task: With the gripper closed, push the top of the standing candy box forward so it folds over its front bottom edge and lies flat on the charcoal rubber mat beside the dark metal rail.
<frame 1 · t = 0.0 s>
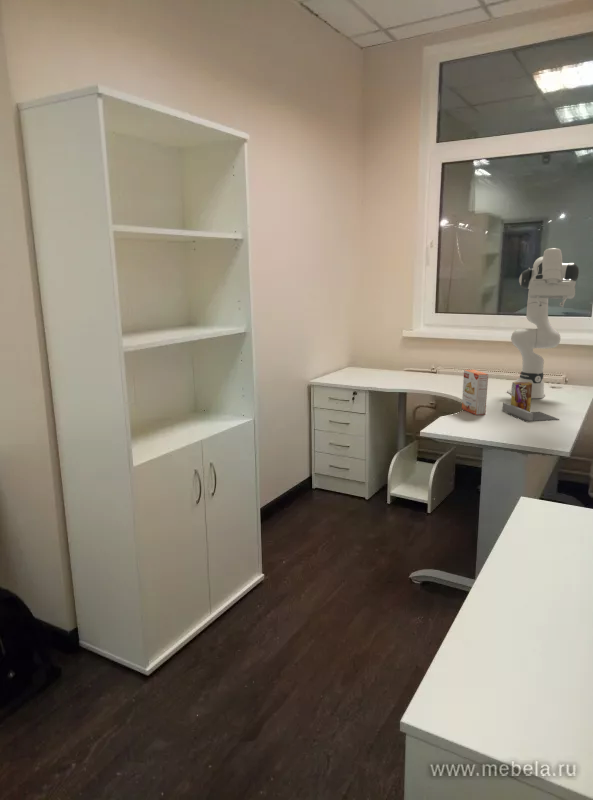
hand: (550, 306, 267), 54 cm above the table, tool tilted 30°, fingers open, 8 cm apart
mat with rail: (529, 415, 285), on the table
candy box: (519, 412, 292), resting on mat with rail
cracker box: (473, 412, 292), on the table
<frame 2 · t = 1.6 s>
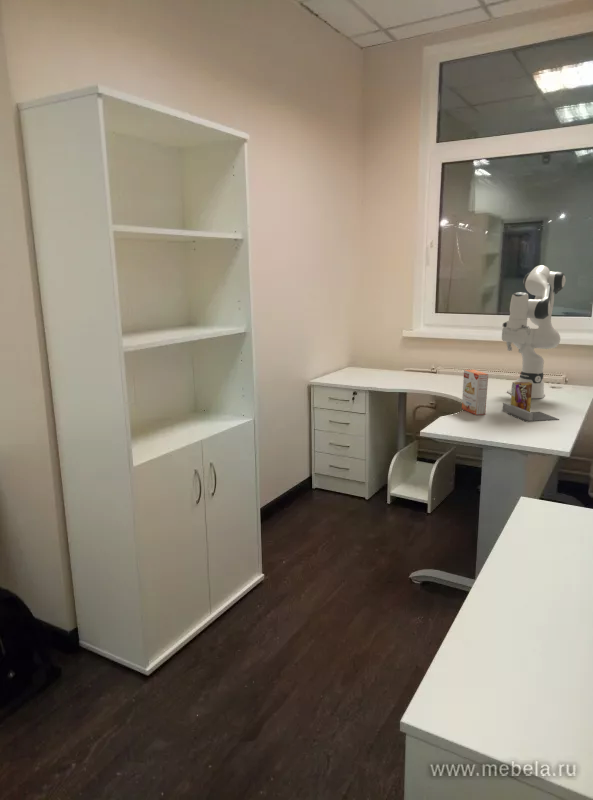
hand: (515, 351, 294), 30 cm above the table, tool pointing down, fingers open, 8 cm apart
nothing on the table moved.
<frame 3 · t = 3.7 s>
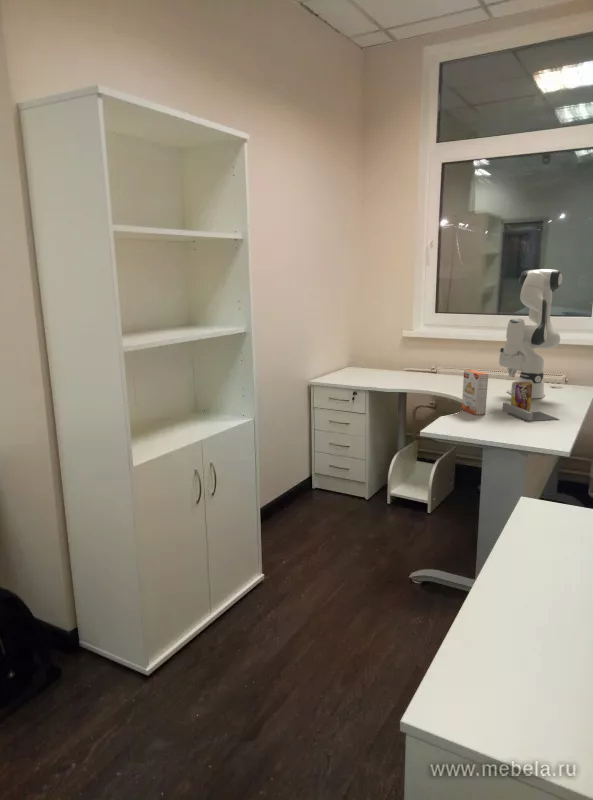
hand: (511, 376, 298), 16 cm above the table, tool pointing down, fingers closed
nothing on the table moved.
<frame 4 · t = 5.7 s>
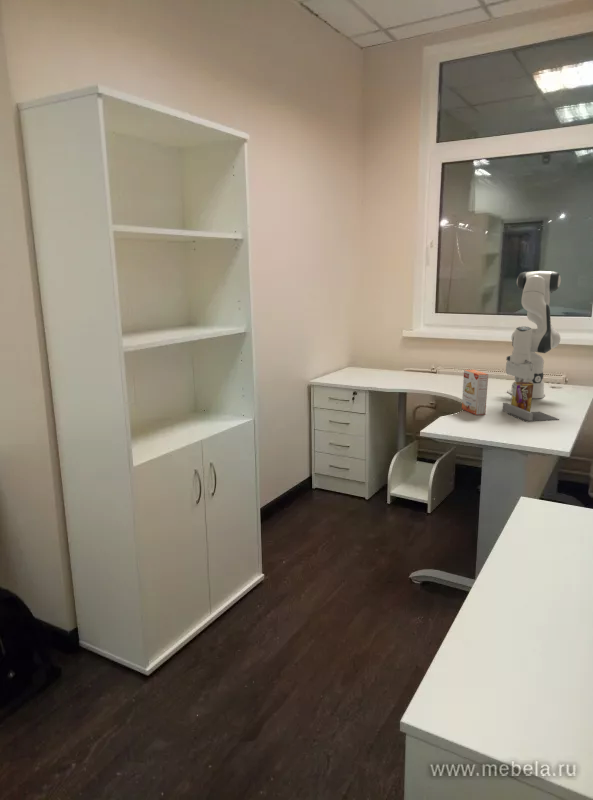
hand: (518, 385, 292), 13 cm above the table, tool pointing down, fingers closed
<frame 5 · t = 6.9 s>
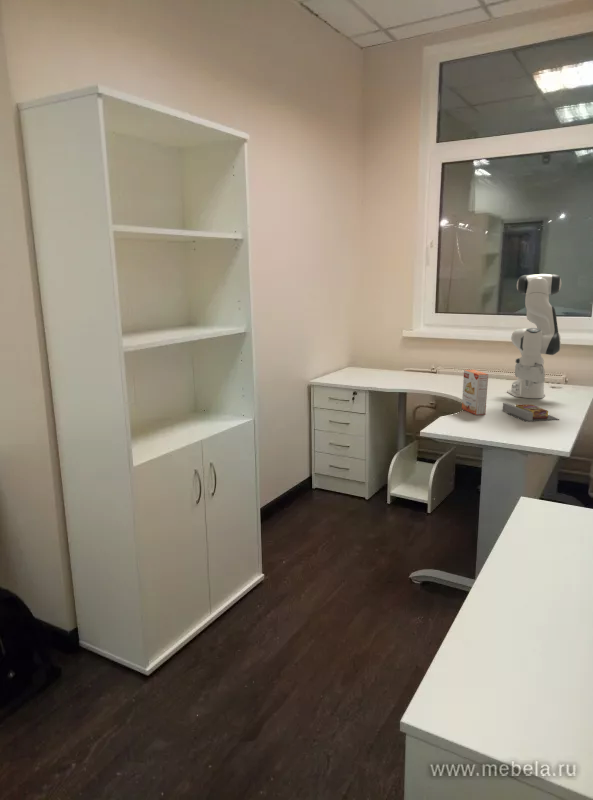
hand: (528, 389, 284), 13 cm above the table, tool pointing down, fingers closed
candy box: (523, 407, 290), point 3 cm above the table, touching mat with rail
everything else where it was.
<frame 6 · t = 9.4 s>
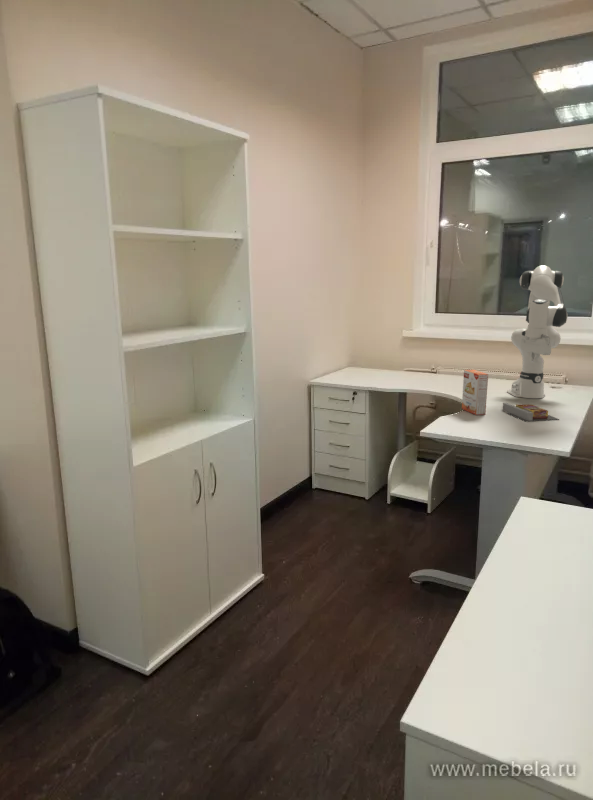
hand: (534, 361, 279), 27 cm above the table, tool pointing down, fingers closed
nothing on the table moved.
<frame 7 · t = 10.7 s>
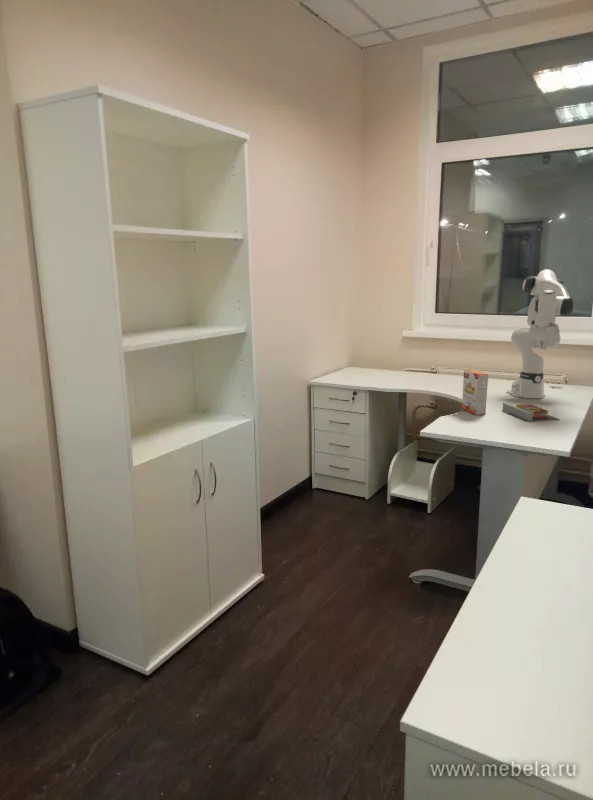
hand: (543, 349, 294), 31 cm above the table, tool pointing down, fingers closed
nothing on the table moved.
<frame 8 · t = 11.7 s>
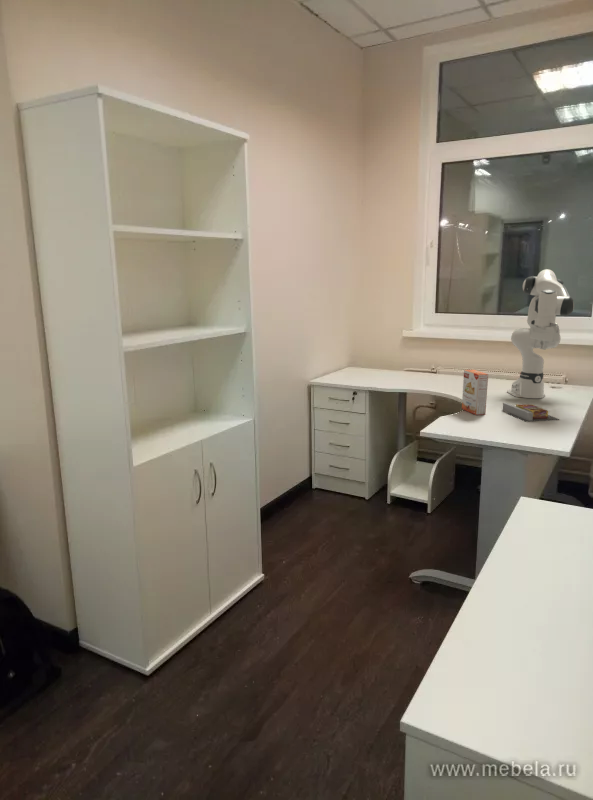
hand: (543, 349, 294), 31 cm above the table, tool pointing down, fingers closed
nothing on the table moved.
at the end: candy box tilted 91°; candy box inside the target area (3.1 cm from its centre), point 2.6 cm above the table; the gripper is holding nothing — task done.
